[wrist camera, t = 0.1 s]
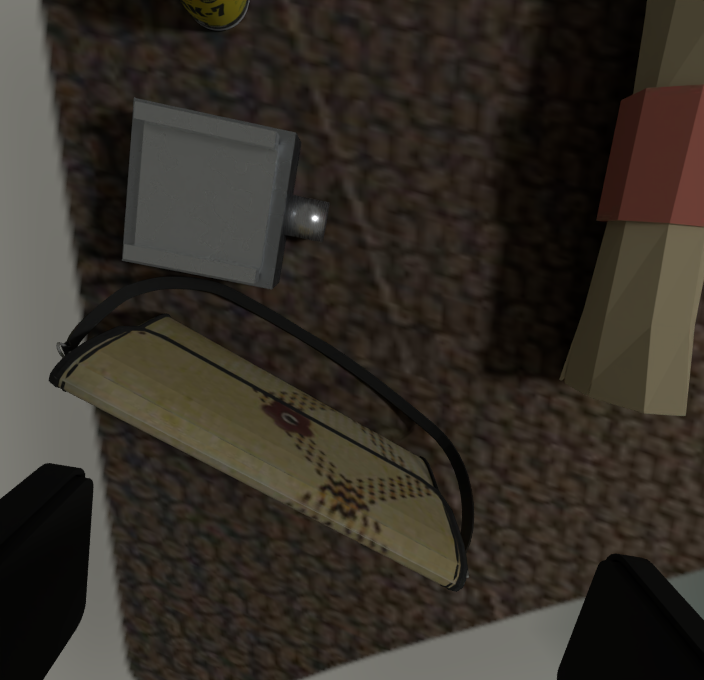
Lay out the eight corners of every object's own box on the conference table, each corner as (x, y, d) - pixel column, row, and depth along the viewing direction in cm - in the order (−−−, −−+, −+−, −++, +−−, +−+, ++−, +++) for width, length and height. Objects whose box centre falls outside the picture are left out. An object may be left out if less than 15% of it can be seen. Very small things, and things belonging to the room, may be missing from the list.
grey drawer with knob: (157, 111, 35) (119, 89, 29) (339, 150, 36) (338, 136, 30) (144, 256, 37) (107, 262, 31) (314, 289, 38) (309, 301, 32)
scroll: (525, 374, 39) (638, 424, 30) (614, -108, 30) (806, -235, 22) (610, 367, 43) (731, 409, 34) (709, -56, 35) (901, -144, 26)
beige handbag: (466, 423, 42) (532, 531, 27) (423, 482, 43) (465, 614, 29) (168, 249, 37) (58, 266, 23) (132, 321, 39) (5, 380, 24)
